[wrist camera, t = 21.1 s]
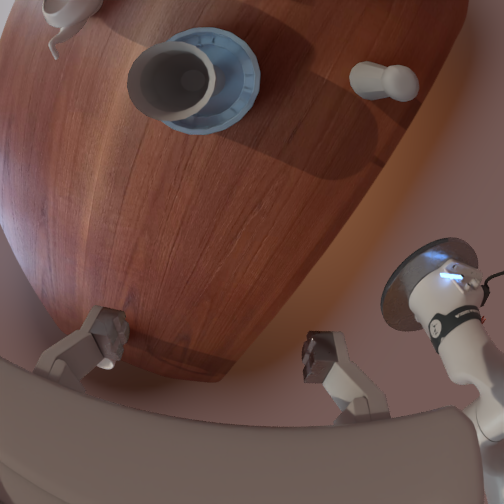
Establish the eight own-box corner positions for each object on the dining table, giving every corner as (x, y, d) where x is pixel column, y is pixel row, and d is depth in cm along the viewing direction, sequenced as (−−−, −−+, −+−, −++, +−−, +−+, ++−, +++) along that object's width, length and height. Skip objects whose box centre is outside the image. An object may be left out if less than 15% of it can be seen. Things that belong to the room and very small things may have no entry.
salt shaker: (382, 67, 30) (430, 67, 20) (379, 101, 34) (424, 114, 23) (346, 58, 30) (384, 51, 20) (343, 94, 33) (379, 102, 23)
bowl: (263, 36, 29) (264, 28, 24) (255, 130, 37) (255, 137, 33) (160, 37, 29) (147, 32, 24) (158, 127, 37) (144, 135, 32)
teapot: (57, 61, 28) (21, 65, 20) (84, -37, 17) (55, -50, 9) (102, 57, 29) (68, 56, 22) (133, -47, 18) (108, -67, 10)
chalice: (175, 97, 34) (119, 112, 19) (189, 53, 30) (139, 36, 15) (224, 109, 35) (200, 130, 20) (240, 65, 31) (228, 51, 16)
